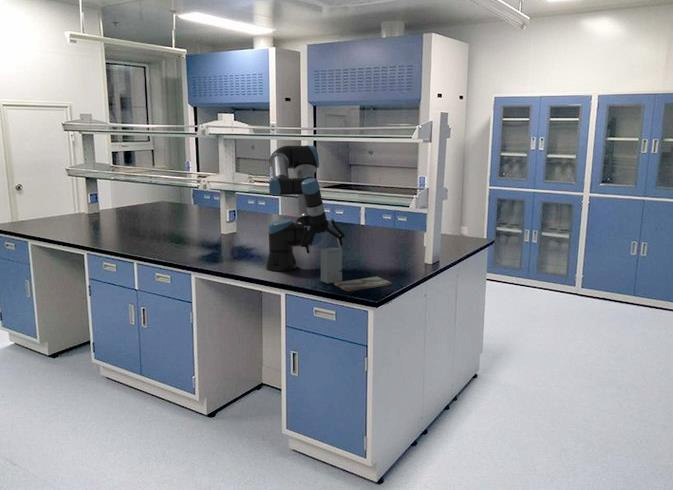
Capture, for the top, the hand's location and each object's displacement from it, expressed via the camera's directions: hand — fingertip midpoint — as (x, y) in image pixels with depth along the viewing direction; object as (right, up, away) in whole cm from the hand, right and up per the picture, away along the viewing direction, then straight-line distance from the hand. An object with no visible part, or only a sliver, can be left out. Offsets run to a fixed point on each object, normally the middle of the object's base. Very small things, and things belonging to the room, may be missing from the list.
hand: (326, 255), depth 252 cm
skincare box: (+2, -12, -7) cm, 14 cm away
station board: (+16, -13, -13) cm, 24 cm away
